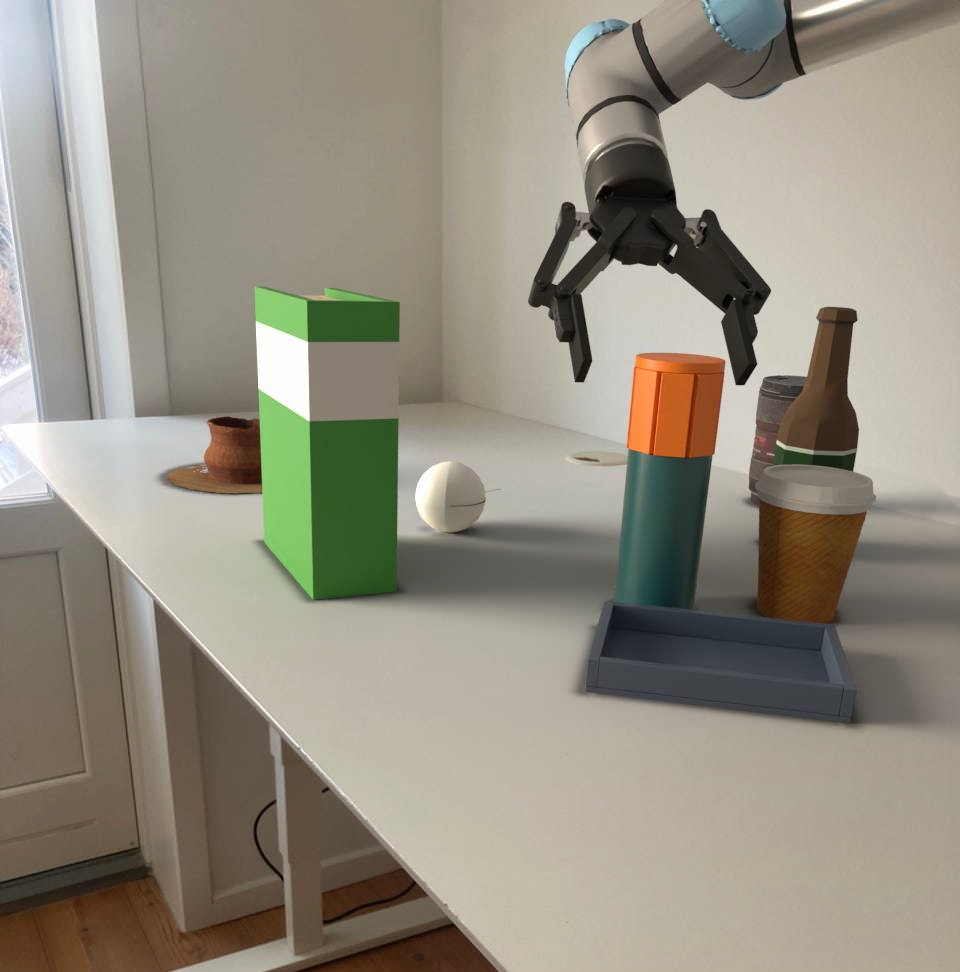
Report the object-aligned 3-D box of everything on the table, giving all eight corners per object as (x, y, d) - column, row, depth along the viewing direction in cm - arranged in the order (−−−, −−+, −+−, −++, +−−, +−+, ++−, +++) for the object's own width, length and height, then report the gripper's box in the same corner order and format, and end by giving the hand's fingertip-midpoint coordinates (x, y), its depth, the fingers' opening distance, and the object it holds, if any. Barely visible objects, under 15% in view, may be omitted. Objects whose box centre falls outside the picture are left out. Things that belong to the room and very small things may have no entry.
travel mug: (730, 503, 124) (747, 377, 119) (767, 494, 130) (785, 373, 124) (789, 517, 119) (809, 386, 113) (825, 508, 124) (846, 381, 119)
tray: (829, 655, 79) (834, 624, 78) (850, 725, 68) (856, 690, 67) (601, 630, 82) (604, 600, 81) (584, 693, 71) (587, 659, 70)
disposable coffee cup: (819, 594, 93) (842, 463, 89) (874, 632, 84) (902, 489, 80) (720, 596, 91) (738, 462, 87) (766, 635, 83) (789, 489, 78)
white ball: (430, 544, 103) (432, 471, 100) (404, 525, 109) (405, 456, 107) (519, 536, 107) (523, 466, 104) (489, 518, 113) (492, 452, 111)
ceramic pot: (280, 458, 138) (279, 405, 135) (339, 486, 124) (338, 428, 122) (146, 469, 128) (141, 413, 126) (193, 501, 115) (189, 438, 112)
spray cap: (714, 444, 84) (725, 356, 81) (714, 460, 77) (726, 365, 75) (630, 437, 85) (638, 350, 82) (624, 453, 79) (633, 359, 76)
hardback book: (264, 544, 101) (254, 286, 92) (337, 538, 104) (334, 287, 95) (313, 601, 86) (307, 300, 77) (396, 592, 89) (399, 302, 80)
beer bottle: (794, 563, 102) (835, 310, 93) (745, 542, 108) (779, 304, 100) (854, 556, 105) (899, 311, 96) (803, 536, 112) (841, 305, 103)
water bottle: (692, 605, 89) (715, 419, 83) (691, 632, 83) (716, 433, 77) (616, 597, 90) (633, 413, 84) (610, 623, 84) (628, 427, 78)
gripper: (743, 214, 95) (791, 404, 87) (479, 201, 91) (504, 399, 83) (777, 147, 88) (833, 346, 80) (493, 129, 84) (521, 338, 76)
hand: (666, 373), depth 81 cm, fingers open, 13 cm apart
